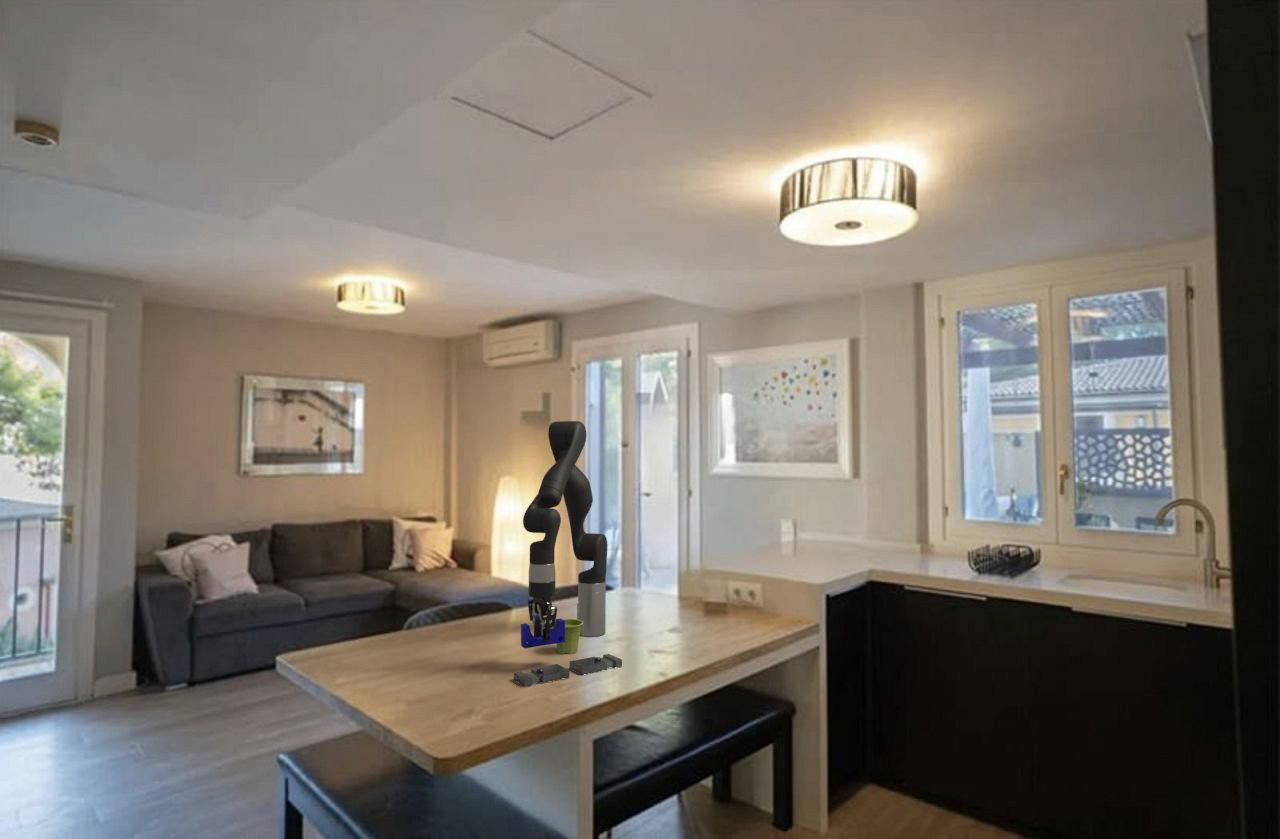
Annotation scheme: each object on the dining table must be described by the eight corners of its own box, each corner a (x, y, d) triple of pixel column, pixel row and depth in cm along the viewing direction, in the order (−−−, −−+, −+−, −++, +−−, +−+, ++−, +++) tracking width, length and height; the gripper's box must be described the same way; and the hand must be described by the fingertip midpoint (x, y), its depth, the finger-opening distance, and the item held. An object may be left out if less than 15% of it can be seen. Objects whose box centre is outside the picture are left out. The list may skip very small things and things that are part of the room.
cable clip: (559, 638, 201) (558, 617, 201) (565, 642, 197) (564, 620, 198) (519, 644, 196) (519, 622, 196) (524, 648, 192) (524, 626, 192)
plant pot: (589, 651, 212) (589, 622, 212) (565, 657, 205) (566, 627, 206) (569, 645, 218) (569, 617, 219) (545, 651, 211) (545, 622, 212)
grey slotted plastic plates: (513, 679, 185) (513, 670, 185) (608, 660, 202) (608, 651, 202) (525, 687, 179) (525, 676, 179) (622, 666, 196) (622, 657, 196)
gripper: (519, 576, 201) (518, 636, 200) (541, 584, 189) (541, 648, 188) (542, 573, 205) (542, 631, 204) (566, 581, 193) (566, 643, 193)
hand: (542, 639), depth 196 cm, fingers closed on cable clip, 4 cm apart
